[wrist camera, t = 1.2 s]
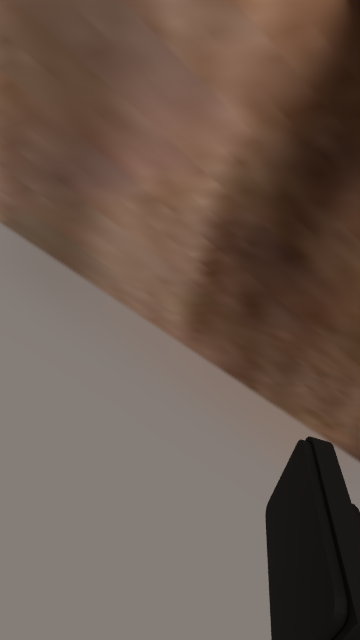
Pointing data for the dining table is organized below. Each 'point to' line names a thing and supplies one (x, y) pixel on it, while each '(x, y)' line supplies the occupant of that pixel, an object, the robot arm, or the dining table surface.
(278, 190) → the dining table surface
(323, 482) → the robot arm
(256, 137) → the dining table surface
